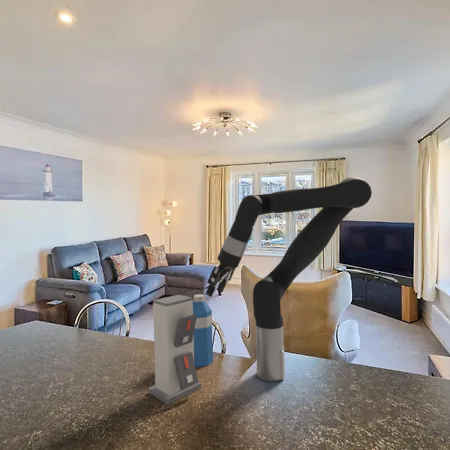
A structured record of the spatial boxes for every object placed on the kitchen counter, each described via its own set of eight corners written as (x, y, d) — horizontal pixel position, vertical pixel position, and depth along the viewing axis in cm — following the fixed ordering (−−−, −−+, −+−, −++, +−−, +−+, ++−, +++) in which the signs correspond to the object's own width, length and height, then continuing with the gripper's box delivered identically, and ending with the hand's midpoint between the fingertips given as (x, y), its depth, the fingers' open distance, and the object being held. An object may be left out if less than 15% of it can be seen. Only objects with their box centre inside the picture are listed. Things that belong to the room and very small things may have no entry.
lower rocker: (180, 389, 97) (174, 358, 99) (196, 382, 102) (189, 352, 103) (183, 390, 96) (177, 358, 98) (199, 382, 101) (192, 352, 102)
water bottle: (214, 356, 129) (213, 292, 129) (211, 367, 120) (209, 298, 120) (190, 356, 130) (189, 292, 130) (185, 366, 121) (184, 298, 121)
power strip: (148, 392, 103) (146, 300, 103) (181, 378, 112) (179, 293, 112) (167, 404, 96) (165, 305, 96) (201, 387, 105) (199, 297, 105)
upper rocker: (173, 345, 99) (178, 318, 97) (189, 340, 103) (194, 314, 101) (176, 348, 98) (181, 321, 96) (192, 342, 102) (197, 316, 100)
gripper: (233, 257, 103) (213, 302, 106) (249, 254, 116) (231, 295, 119) (214, 246, 106) (195, 291, 108) (231, 245, 119) (214, 285, 121)
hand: (214, 293), depth 113 cm, fingers open, 8 cm apart
